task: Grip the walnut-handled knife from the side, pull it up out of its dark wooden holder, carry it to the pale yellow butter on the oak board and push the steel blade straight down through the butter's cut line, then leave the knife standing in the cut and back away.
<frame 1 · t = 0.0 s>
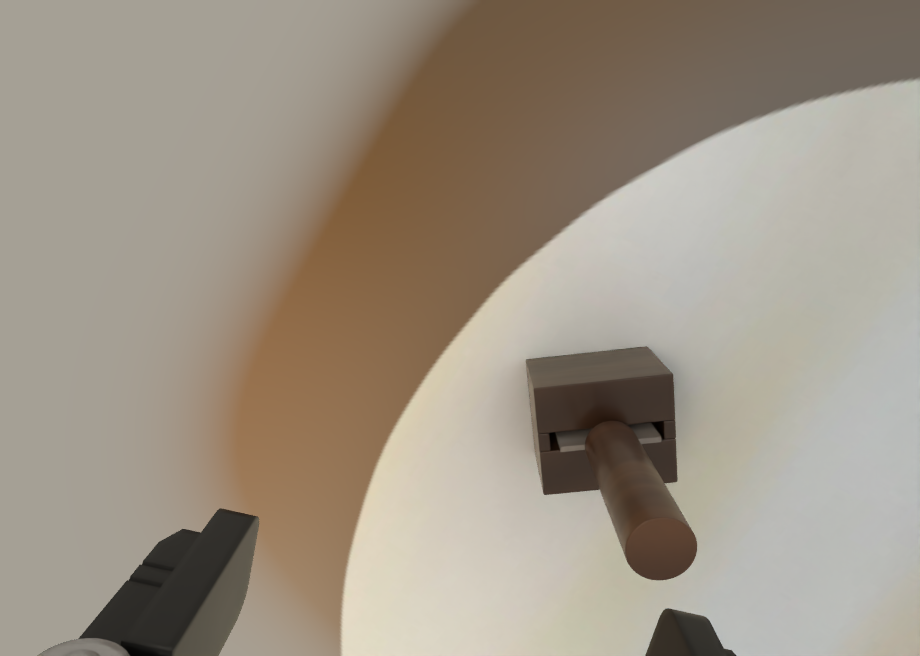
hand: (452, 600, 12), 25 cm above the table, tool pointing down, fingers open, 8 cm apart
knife: (617, 458, 31), in the knife holder
knife holder: (590, 401, 38), on the table
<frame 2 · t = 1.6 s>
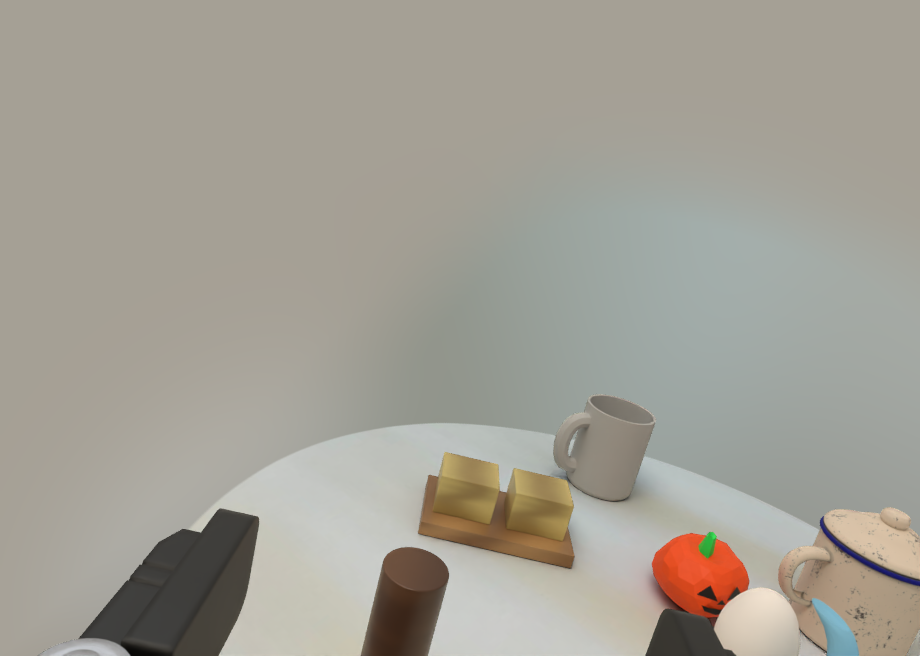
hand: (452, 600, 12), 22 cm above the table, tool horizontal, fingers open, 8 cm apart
cup: (585, 484, 70), on the table
teacup with lid: (824, 633, 54), on the table
pumpkin: (689, 602, 53), on the table
butter: (493, 524, 57), on the table
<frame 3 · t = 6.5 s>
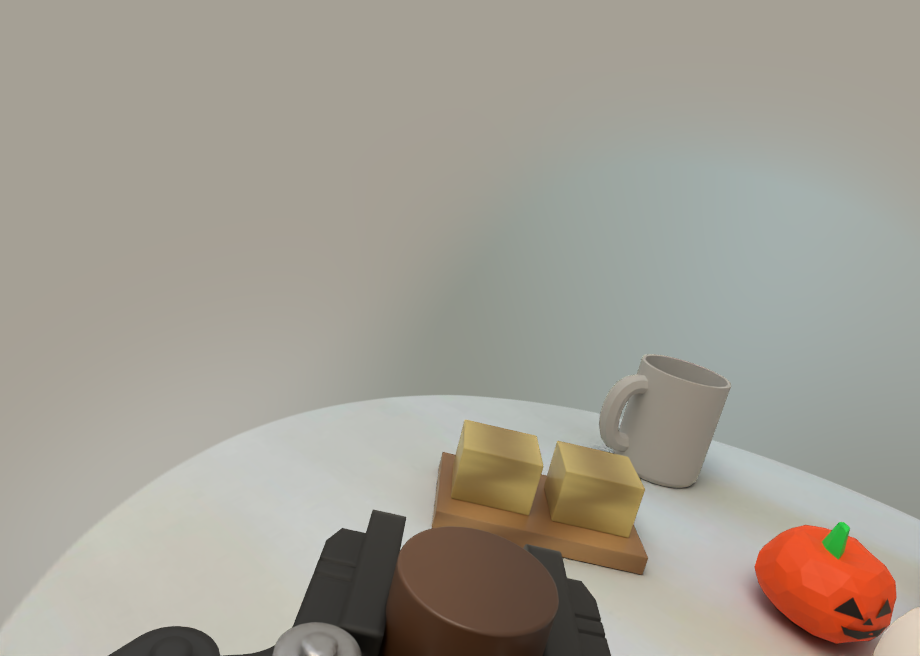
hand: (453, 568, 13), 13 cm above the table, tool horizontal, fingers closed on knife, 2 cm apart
cup: (638, 467, 55), on the table
pumpkin: (806, 620, 39), on the table
butter: (532, 516, 42), on the table
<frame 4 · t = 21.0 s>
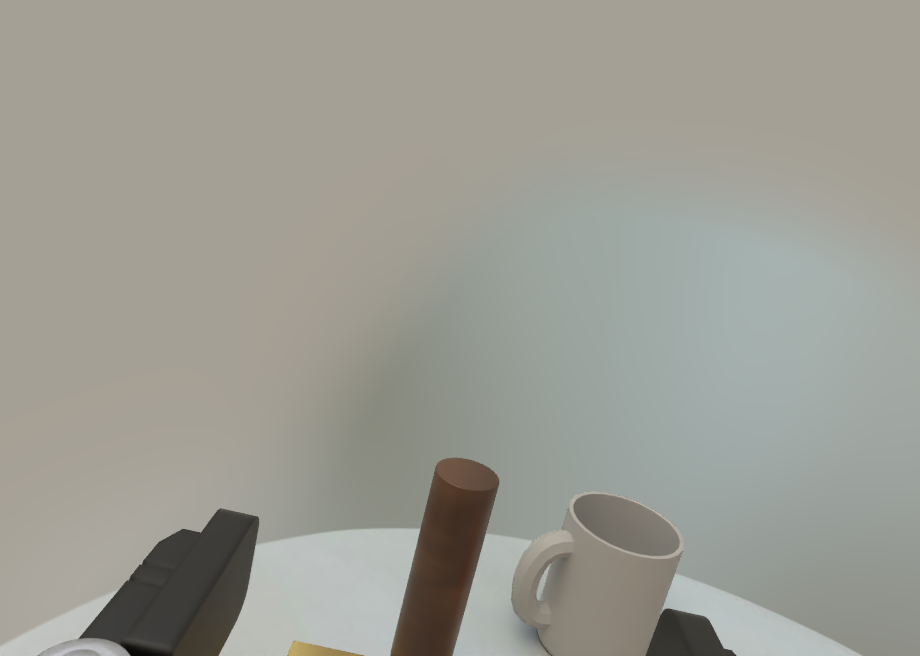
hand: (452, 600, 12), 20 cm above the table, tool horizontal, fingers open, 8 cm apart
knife: (427, 630, 28), point 9 cm above the table, touching butter
cup: (566, 643, 42), on the table
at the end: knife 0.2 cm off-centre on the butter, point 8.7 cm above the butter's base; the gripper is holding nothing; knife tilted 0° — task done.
